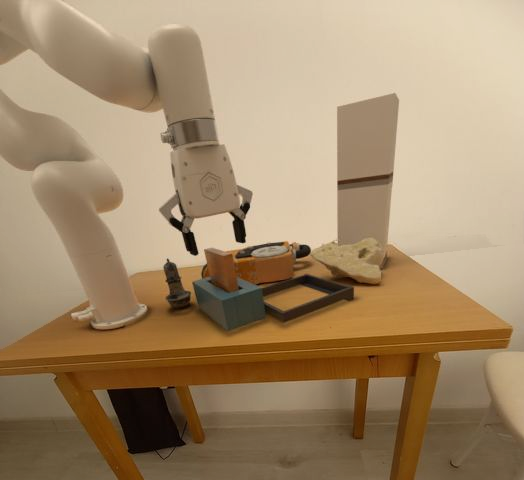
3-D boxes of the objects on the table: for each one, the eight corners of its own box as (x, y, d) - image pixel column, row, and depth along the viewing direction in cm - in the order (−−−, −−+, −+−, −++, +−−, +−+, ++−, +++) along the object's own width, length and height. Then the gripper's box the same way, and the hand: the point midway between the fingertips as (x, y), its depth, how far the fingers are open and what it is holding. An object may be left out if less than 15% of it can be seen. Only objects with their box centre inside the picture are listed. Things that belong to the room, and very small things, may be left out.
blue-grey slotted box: (228, 334, 55) (221, 300, 51) (199, 310, 68) (191, 281, 64) (266, 320, 58) (261, 287, 54) (231, 300, 71) (225, 272, 67)
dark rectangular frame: (283, 326, 55) (282, 313, 53) (245, 304, 67) (243, 293, 66) (353, 299, 61) (354, 287, 60) (307, 283, 74) (306, 273, 72)
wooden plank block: (243, 317, 59) (232, 253, 52) (235, 320, 58) (223, 255, 52) (223, 304, 67) (211, 247, 60) (216, 306, 66) (203, 249, 60)
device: (210, 245, 91) (307, 231, 89) (216, 271, 96) (309, 259, 93) (196, 263, 72) (319, 246, 70) (204, 295, 76) (320, 280, 74)
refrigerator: (386, 257, 84) (399, 100, 66) (382, 269, 76) (395, 92, 58) (345, 258, 89) (347, 111, 71) (337, 269, 81) (337, 106, 63)
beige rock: (395, 284, 71) (366, 237, 76) (401, 268, 64) (368, 218, 69) (336, 312, 73) (311, 264, 78) (335, 299, 66) (308, 248, 71)
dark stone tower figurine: (192, 302, 73) (179, 253, 66) (196, 310, 68) (182, 257, 62) (168, 308, 71) (152, 258, 65) (171, 317, 66) (154, 263, 60)
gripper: (145, 139, 41) (180, 262, 50) (252, 129, 47) (267, 239, 56) (136, 148, 47) (168, 257, 55) (233, 138, 53) (249, 237, 62)
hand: (218, 248), depth 56 cm, fingers open, 9 cm apart
